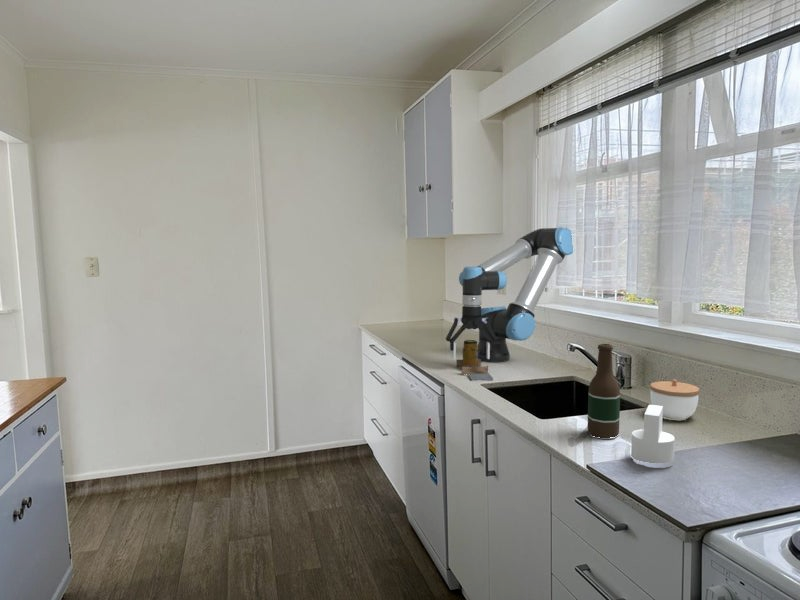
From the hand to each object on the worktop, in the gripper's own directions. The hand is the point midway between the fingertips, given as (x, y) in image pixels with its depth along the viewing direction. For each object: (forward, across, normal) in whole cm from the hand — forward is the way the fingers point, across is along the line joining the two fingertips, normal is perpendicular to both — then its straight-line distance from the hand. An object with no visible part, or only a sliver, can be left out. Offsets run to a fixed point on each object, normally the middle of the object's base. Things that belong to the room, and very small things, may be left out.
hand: (471, 358), depth 222 cm
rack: (+5, 0, 0) cm, 5 cm away
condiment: (+5, 0, 0) cm, 5 cm away
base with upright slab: (+6, +25, -96) cm, 99 cm away
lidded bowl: (+5, +47, -65) cm, 80 cm away
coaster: (+5, +1, -13) cm, 14 cm away
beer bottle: (+5, +21, -78) cm, 81 cm away
